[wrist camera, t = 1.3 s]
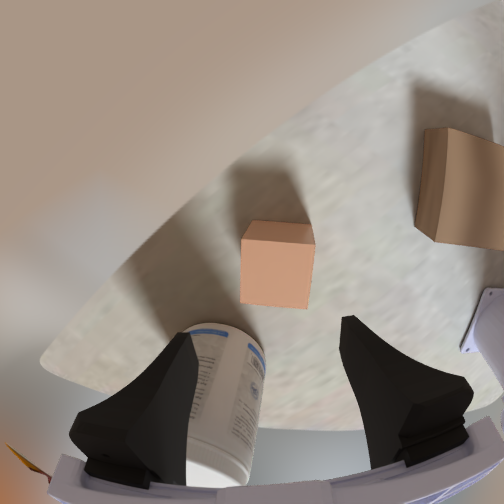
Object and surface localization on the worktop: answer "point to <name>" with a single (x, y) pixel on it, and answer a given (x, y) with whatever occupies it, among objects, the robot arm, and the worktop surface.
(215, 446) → the supplement tub
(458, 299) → the worktop surface
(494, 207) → the walnut block
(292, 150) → the worktop surface
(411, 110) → the worktop surface
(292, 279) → the orange-tan cube
